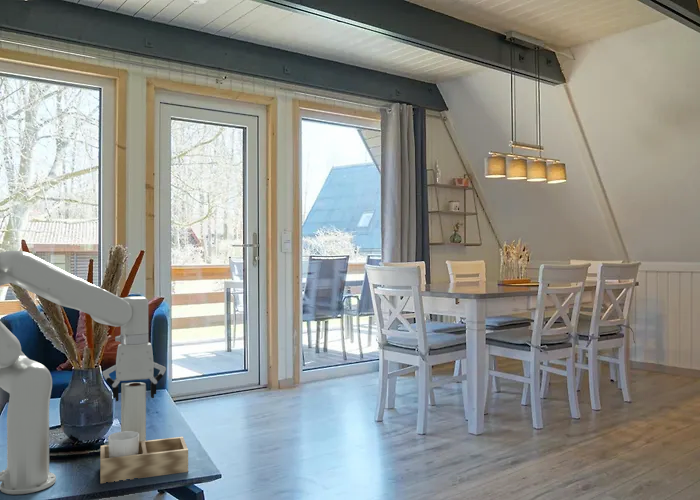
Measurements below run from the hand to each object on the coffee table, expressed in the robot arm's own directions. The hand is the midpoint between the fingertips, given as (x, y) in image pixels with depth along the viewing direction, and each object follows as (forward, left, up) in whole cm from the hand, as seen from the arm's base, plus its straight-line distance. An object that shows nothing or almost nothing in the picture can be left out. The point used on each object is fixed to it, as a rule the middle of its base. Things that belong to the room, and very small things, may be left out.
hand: (134, 398), depth 174 cm
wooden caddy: (+2, -11, -17) cm, 20 cm away
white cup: (-3, -11, -17) cm, 21 cm away
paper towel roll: (0, 0, -17) cm, 17 cm away
